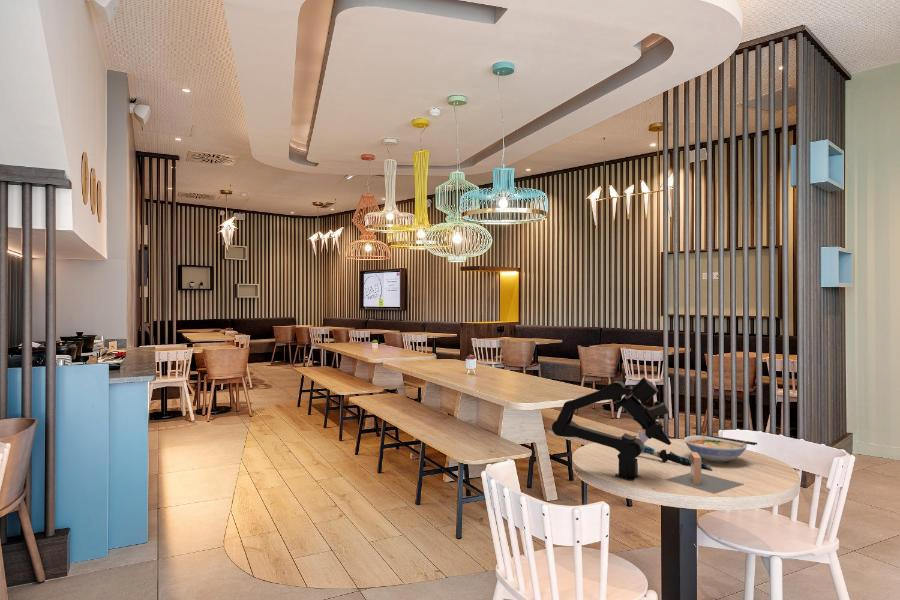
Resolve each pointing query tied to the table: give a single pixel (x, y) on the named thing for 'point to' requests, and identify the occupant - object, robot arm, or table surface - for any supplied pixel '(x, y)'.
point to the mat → (706, 483)
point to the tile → (696, 468)
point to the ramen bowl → (716, 447)
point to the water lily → (642, 436)
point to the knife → (671, 457)
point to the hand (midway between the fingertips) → (670, 444)
